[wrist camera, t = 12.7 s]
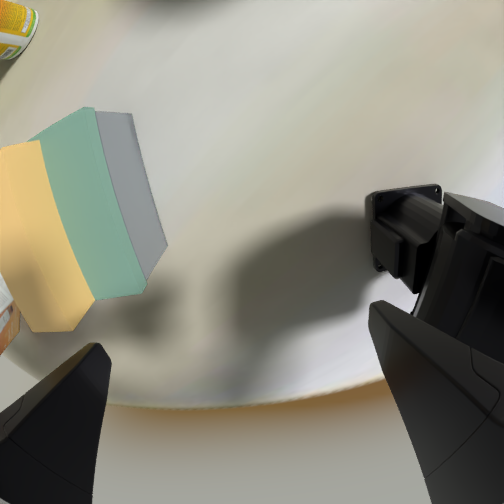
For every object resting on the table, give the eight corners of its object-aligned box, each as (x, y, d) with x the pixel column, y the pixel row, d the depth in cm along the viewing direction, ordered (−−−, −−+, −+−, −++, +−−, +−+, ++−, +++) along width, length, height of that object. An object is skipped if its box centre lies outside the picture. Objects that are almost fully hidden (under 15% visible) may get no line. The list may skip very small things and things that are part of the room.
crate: (131, 113, 15) (95, 111, 11) (167, 245, 20) (146, 280, 15) (28, 165, 16) (-11, 179, 12) (64, 269, 20) (34, 298, 16)
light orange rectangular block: (39, 139, 10) (2, 147, 7) (95, 299, 14) (73, 331, 12) (2, 166, 10) (-31, 177, 8) (54, 305, 15) (32, 332, 12)
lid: (93, 107, 11) (84, 106, 10) (147, 284, 15) (142, 293, 14) (-15, 179, 11) (-24, 182, 10) (32, 302, 16) (25, 309, 15)
